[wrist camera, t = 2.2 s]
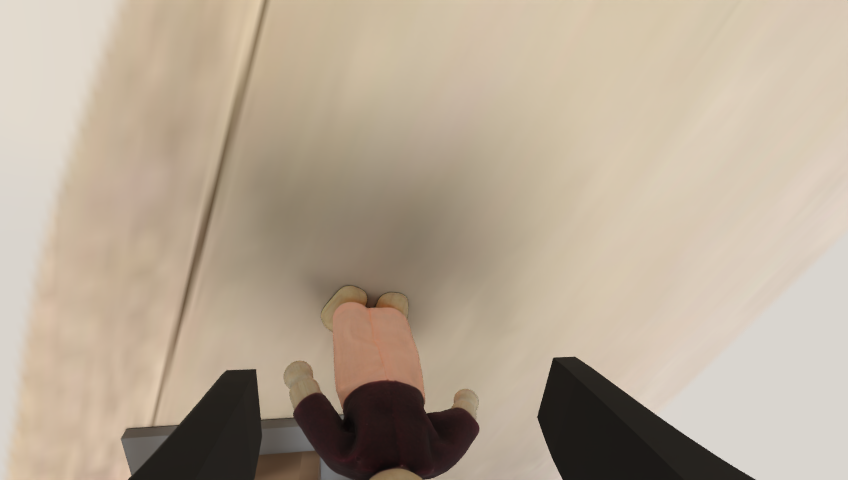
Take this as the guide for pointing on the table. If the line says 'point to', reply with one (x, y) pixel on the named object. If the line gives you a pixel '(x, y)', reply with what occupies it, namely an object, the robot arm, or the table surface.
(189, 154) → the table surface
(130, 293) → the table surface
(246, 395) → the robot arm
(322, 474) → the wooden tray
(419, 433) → the grandmother figurine
